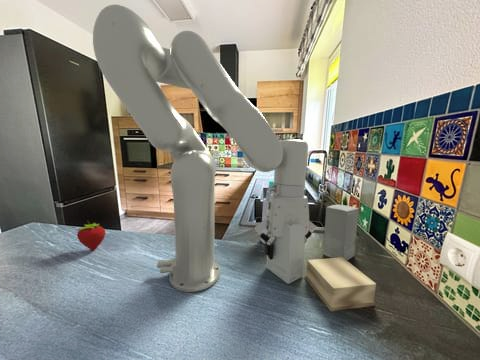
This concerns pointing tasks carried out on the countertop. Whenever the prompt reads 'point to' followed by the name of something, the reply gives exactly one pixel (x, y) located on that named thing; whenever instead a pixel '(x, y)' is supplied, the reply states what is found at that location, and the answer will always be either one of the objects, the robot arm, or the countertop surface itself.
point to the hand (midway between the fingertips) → (284, 255)
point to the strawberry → (91, 235)
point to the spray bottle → (266, 207)
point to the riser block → (340, 284)
